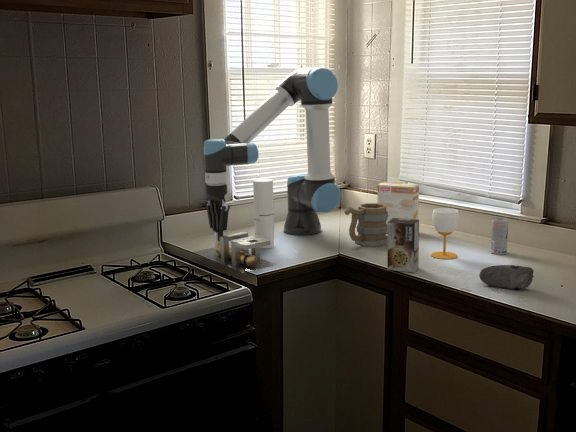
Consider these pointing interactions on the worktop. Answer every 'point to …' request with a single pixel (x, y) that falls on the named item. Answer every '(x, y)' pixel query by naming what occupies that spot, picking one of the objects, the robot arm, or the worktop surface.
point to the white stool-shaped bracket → (247, 247)
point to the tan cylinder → (242, 257)
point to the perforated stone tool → (507, 276)
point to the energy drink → (499, 236)
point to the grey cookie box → (403, 245)
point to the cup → (445, 228)
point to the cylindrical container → (264, 210)
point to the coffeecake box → (399, 200)
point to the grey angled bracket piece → (225, 244)
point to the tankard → (369, 224)
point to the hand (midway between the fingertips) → (219, 248)
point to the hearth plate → (216, 257)
